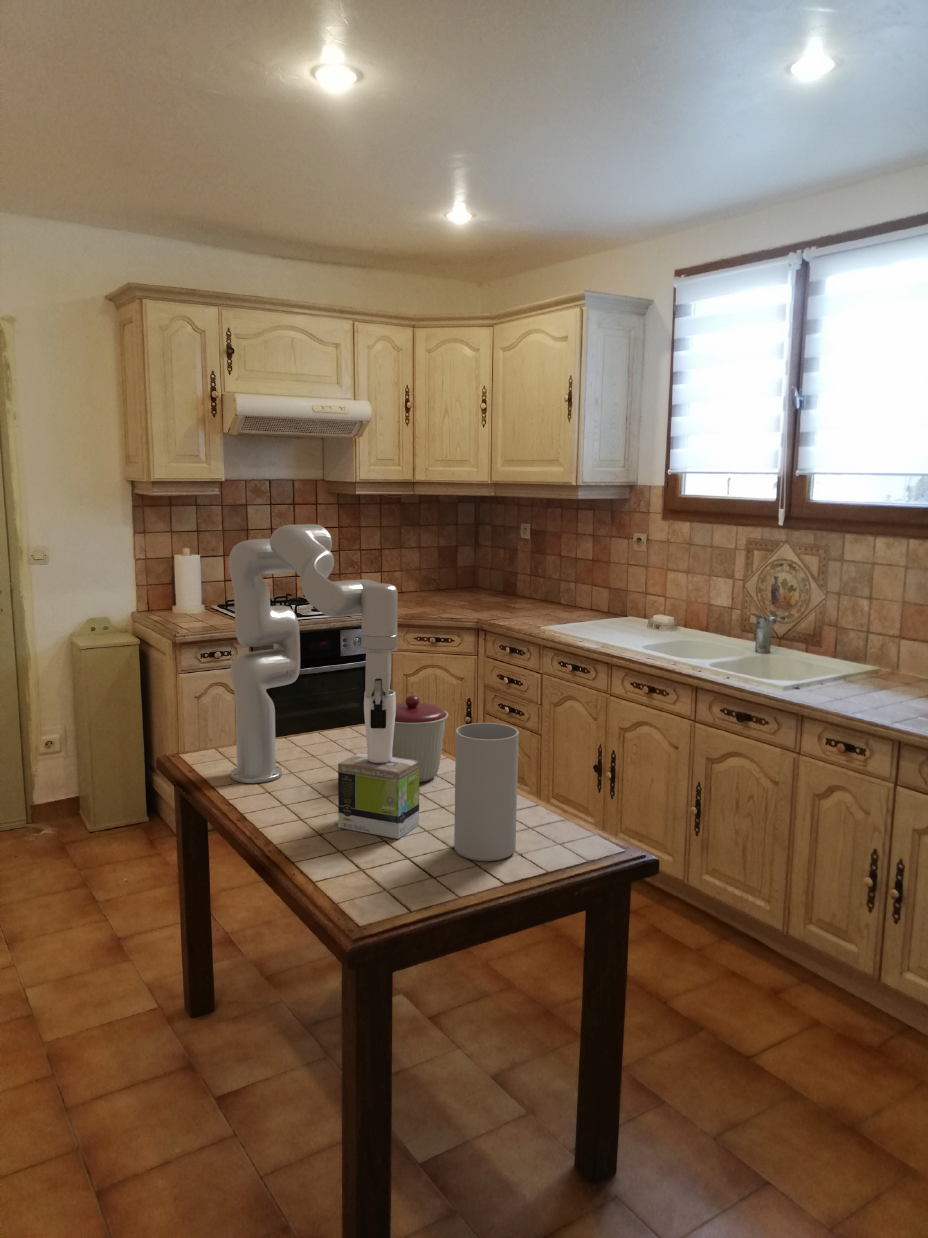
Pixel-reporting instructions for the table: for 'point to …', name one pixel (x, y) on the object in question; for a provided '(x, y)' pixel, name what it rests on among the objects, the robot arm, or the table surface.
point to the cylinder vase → (486, 791)
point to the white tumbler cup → (380, 731)
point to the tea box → (378, 795)
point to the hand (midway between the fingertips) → (379, 721)
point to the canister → (419, 735)
